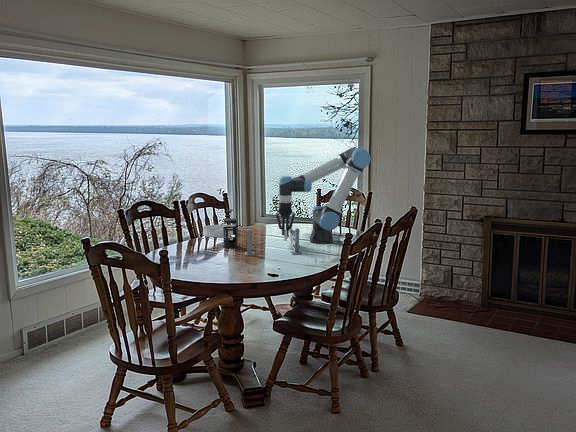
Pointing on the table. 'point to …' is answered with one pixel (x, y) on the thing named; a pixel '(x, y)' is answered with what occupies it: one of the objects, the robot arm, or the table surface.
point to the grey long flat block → (291, 238)
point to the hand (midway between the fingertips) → (285, 240)
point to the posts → (250, 253)
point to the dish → (215, 231)
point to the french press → (227, 242)
